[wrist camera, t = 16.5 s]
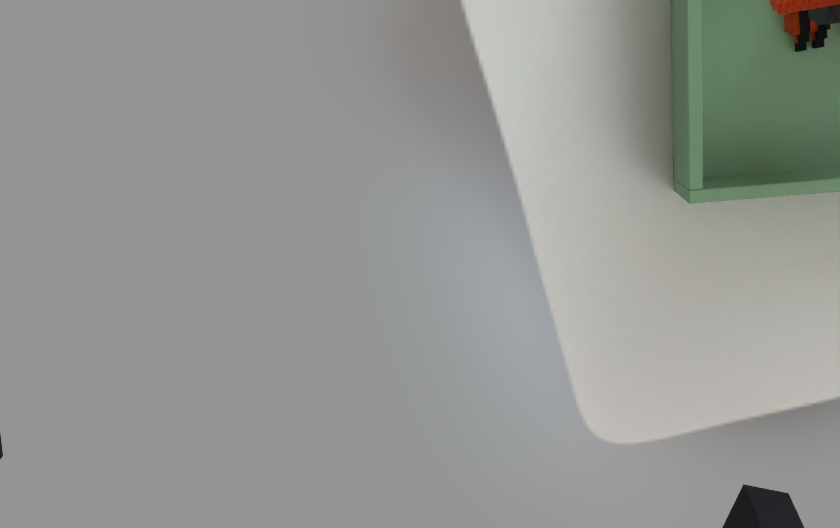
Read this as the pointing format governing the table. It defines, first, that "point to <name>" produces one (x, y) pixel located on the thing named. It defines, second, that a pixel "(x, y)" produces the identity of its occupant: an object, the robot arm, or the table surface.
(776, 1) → the toy animal
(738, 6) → the tray
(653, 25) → the table surface
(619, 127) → the table surface
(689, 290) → the table surface
